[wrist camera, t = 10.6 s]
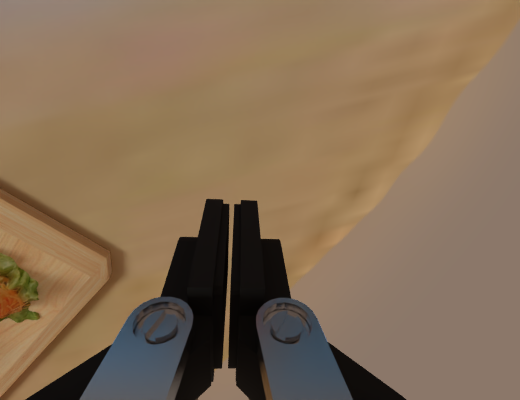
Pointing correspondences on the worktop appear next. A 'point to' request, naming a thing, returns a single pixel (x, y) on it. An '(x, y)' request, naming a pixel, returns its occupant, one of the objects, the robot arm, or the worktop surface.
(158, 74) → the worktop surface
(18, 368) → the wooden food tray
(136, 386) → the robot arm
